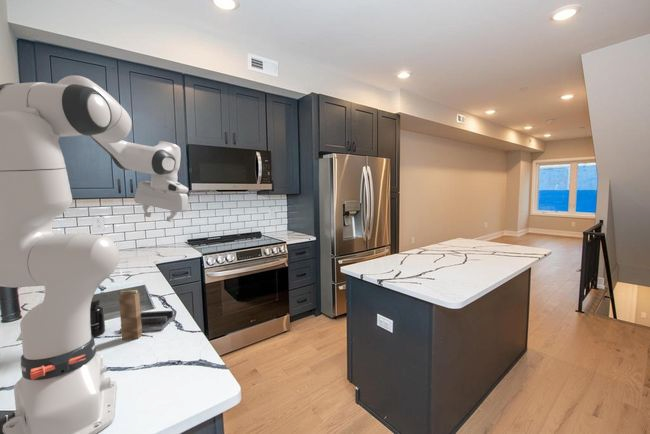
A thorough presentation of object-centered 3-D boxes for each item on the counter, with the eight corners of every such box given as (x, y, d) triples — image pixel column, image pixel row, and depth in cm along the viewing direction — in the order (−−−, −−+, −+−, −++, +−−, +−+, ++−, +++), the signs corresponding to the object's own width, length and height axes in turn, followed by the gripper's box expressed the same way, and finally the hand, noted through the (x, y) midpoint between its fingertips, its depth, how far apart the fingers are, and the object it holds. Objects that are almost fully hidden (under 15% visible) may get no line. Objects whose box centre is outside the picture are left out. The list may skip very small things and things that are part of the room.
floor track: (174, 318, 111) (174, 309, 110) (162, 330, 101) (161, 320, 100) (136, 320, 110) (136, 311, 109) (120, 333, 100) (119, 323, 99)
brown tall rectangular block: (142, 335, 98) (138, 289, 97) (138, 338, 95) (134, 291, 94) (126, 336, 97) (123, 290, 96) (122, 339, 95) (118, 292, 94)
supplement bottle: (91, 340, 95) (88, 305, 94) (74, 338, 96) (71, 303, 96) (110, 330, 102) (107, 297, 101) (94, 329, 103) (92, 296, 102)
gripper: (133, 178, 109) (127, 214, 110) (182, 188, 107) (177, 224, 108) (145, 179, 116) (140, 213, 116) (192, 189, 114) (186, 223, 114)
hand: (158, 219), depth 112 cm, fingers open, 8 cm apart
